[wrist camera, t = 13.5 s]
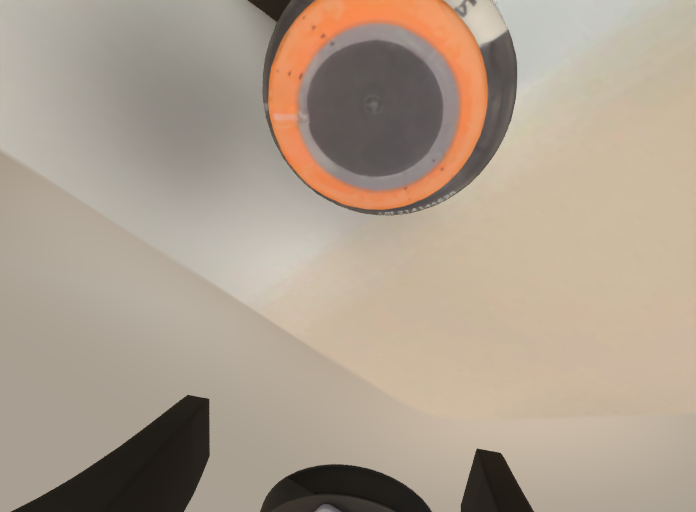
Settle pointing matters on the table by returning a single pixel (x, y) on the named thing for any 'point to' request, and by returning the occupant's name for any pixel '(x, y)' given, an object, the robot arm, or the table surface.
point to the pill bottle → (389, 97)
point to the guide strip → (271, 7)
